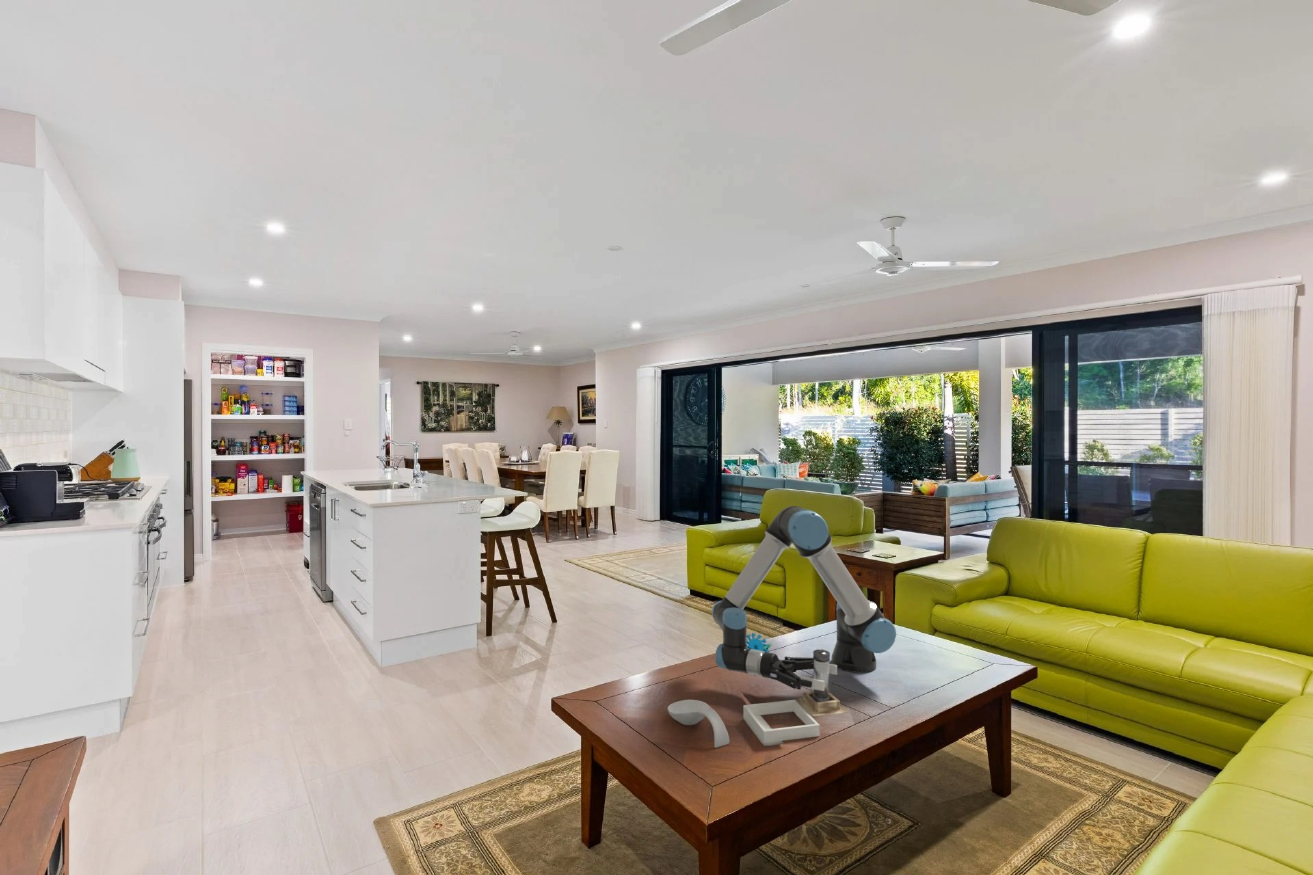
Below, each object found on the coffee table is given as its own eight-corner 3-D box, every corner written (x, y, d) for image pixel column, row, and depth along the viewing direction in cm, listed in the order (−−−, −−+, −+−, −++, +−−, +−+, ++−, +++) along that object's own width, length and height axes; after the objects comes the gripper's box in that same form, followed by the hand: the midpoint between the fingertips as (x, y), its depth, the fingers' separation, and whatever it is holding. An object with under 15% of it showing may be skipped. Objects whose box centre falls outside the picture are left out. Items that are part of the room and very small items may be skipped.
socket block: (830, 697, 200) (830, 686, 200) (849, 715, 188) (849, 703, 188) (794, 701, 197) (794, 690, 197) (811, 719, 186) (811, 707, 185)
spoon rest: (660, 716, 189) (660, 692, 188) (694, 707, 195) (693, 684, 194) (705, 752, 168) (705, 725, 168) (741, 741, 174) (741, 715, 174)
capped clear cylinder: (824, 700, 195) (825, 648, 195) (832, 707, 191) (832, 654, 190) (810, 702, 194) (810, 650, 194) (817, 709, 190) (817, 655, 189)
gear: (747, 657, 230) (742, 631, 237) (741, 664, 234) (736, 639, 241) (775, 658, 233) (769, 632, 240) (768, 665, 237) (762, 640, 244)
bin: (794, 712, 190) (794, 699, 190) (819, 739, 174) (819, 724, 174) (743, 718, 186) (743, 705, 186) (764, 746, 171) (764, 731, 171)
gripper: (777, 662, 213) (841, 675, 202) (747, 690, 191) (818, 706, 180) (777, 640, 212) (841, 651, 201) (747, 665, 191) (818, 680, 180)
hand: (830, 677), depth 191 cm, fingers open, 13 cm apart
